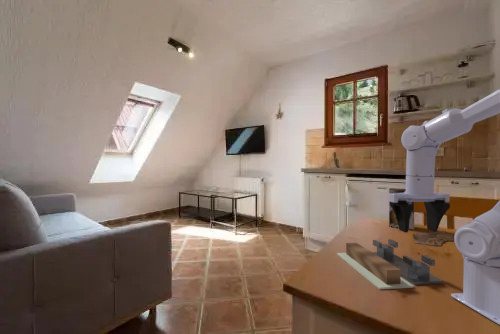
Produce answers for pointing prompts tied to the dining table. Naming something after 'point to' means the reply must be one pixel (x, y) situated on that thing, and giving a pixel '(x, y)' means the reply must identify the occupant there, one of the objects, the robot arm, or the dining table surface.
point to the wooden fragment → (432, 238)
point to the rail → (374, 263)
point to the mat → (371, 277)
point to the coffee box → (392, 215)
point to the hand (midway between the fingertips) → (417, 230)
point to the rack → (408, 264)
